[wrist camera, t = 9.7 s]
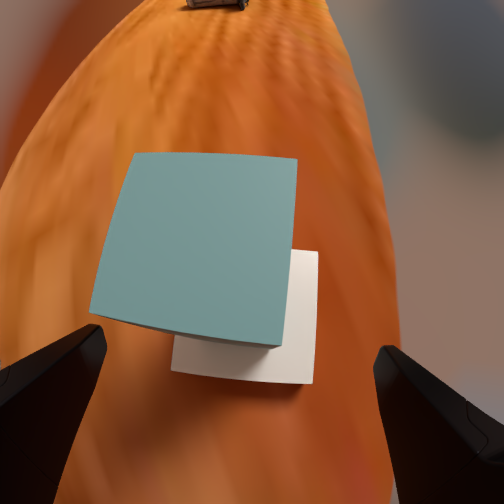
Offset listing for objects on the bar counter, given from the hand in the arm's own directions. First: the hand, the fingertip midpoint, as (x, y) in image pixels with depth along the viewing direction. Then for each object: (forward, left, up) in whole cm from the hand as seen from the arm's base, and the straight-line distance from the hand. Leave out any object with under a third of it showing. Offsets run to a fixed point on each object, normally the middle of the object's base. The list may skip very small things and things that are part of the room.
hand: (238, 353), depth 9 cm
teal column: (+2, -2, -10) cm, 10 cm away
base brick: (+1, -3, -13) cm, 13 cm away
